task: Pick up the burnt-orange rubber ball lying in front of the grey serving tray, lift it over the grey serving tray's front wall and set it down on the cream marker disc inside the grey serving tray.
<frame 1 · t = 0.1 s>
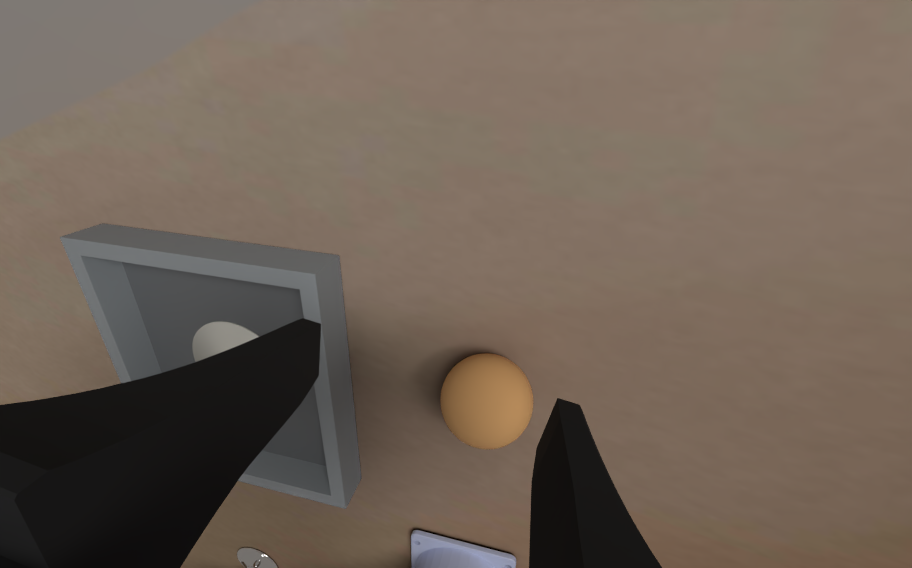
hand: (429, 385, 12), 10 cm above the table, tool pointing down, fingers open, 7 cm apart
grey serving tray: (243, 362, 28), on the table
ball: (486, 399, 22), point 2 cm above the table
wineglass: (259, 559, 41), on the table
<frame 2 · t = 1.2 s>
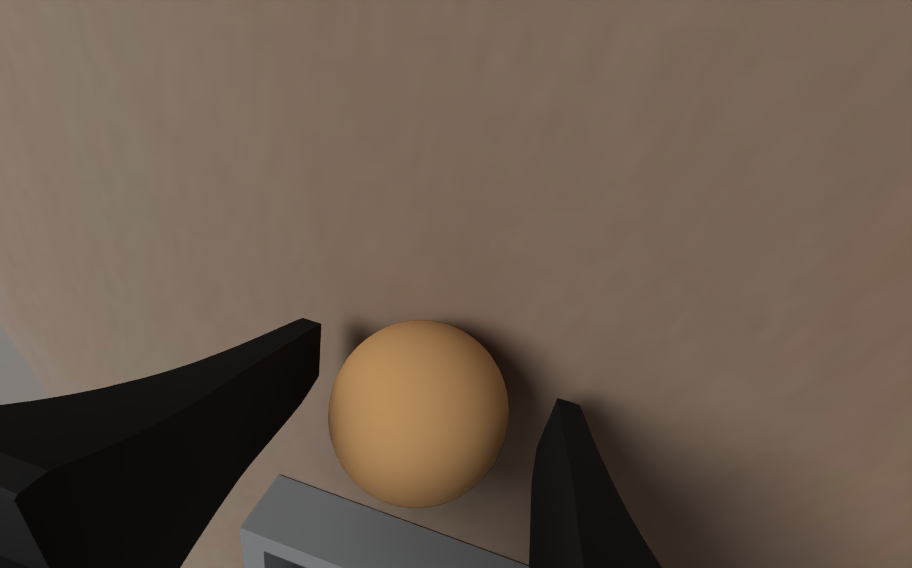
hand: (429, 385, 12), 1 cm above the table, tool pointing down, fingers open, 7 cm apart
ball: (420, 408, 11), point 2 cm above the table
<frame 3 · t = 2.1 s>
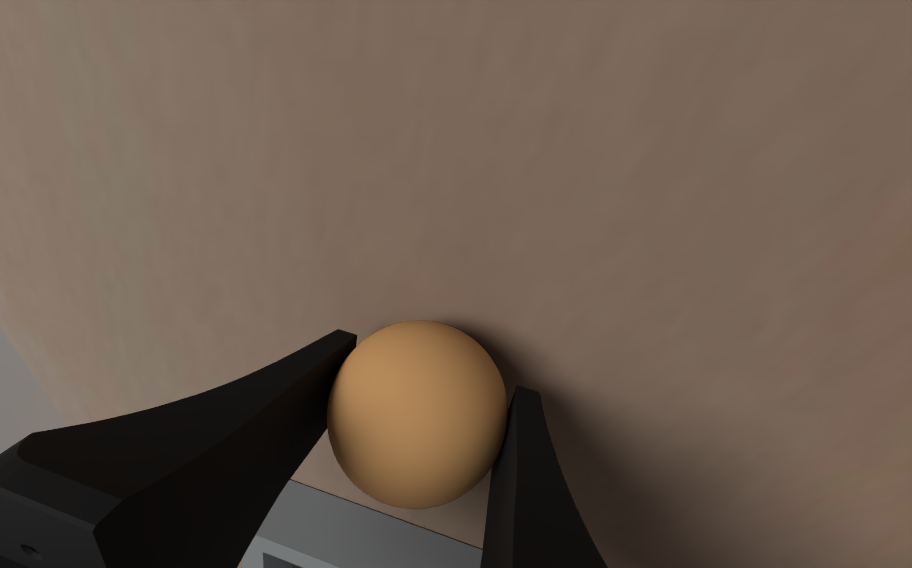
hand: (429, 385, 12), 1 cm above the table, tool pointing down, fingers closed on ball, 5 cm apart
ball: (419, 408, 11), point 2 cm above the table, touching gripper
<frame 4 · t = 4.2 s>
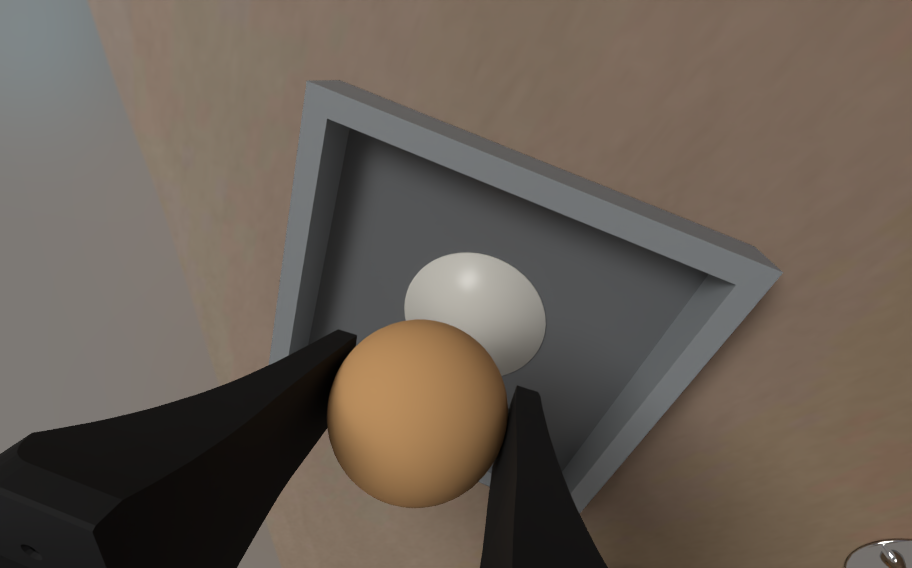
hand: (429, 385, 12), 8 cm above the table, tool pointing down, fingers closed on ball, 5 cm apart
grey serving tray: (474, 314, 21), on the table
ball: (419, 407, 11), point 9 cm above the table, touching gripper
wineglass: (895, 563, 22), on the table
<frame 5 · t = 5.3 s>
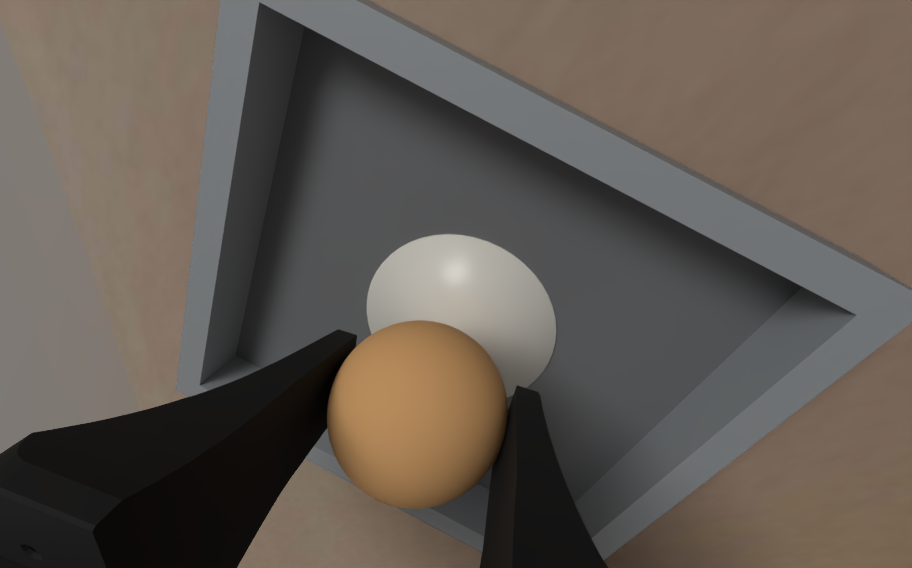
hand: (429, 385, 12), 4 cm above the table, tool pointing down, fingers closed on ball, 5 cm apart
grey serving tray: (459, 319, 15), on the table
ball: (419, 408, 11), point 5 cm above the table, touching gripper
when the fingers open (3 cm above the table, at t = 6.3 s): ball drops 1 cm, resting on grey serving tray.
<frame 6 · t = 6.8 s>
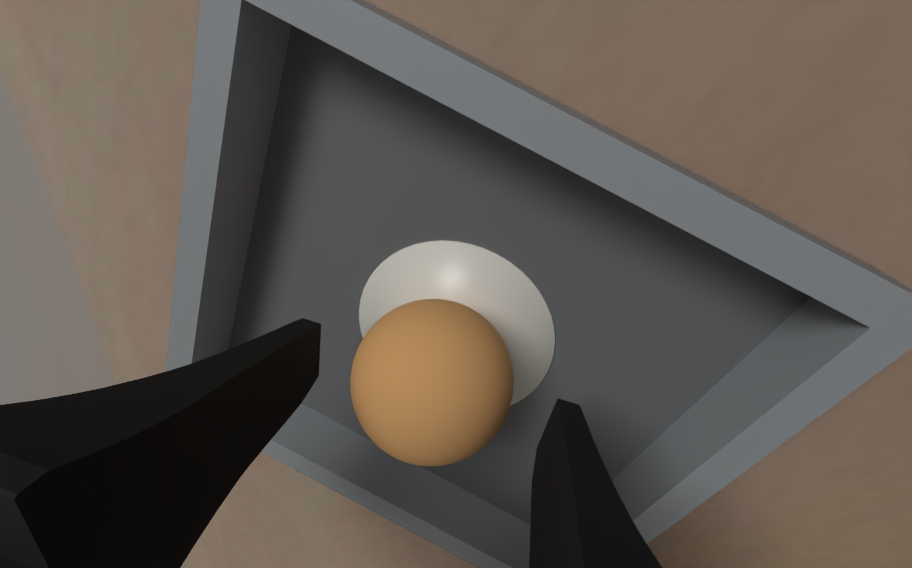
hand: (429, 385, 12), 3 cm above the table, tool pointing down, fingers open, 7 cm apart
grey serving tray: (455, 328, 15), on the table
ball: (432, 378, 12), point 3 cm above the table, touching grey serving tray
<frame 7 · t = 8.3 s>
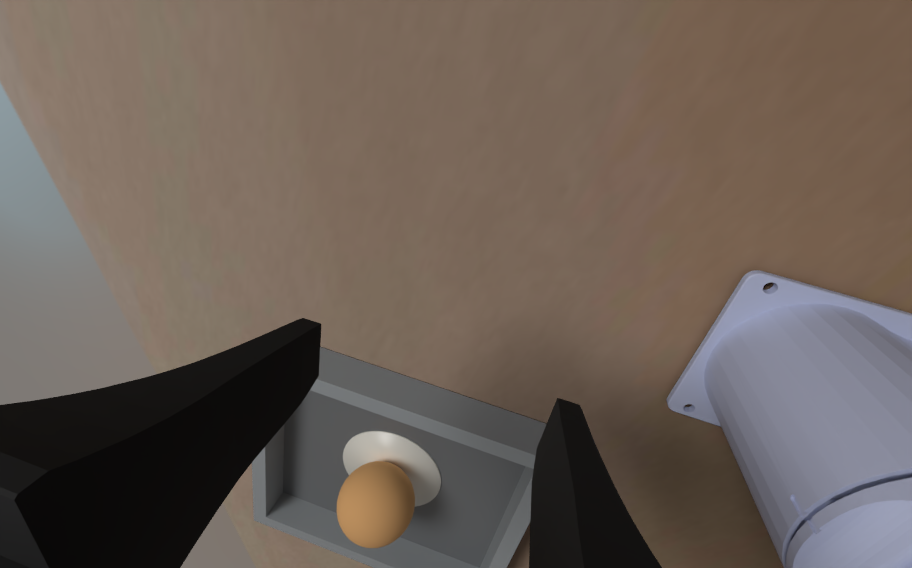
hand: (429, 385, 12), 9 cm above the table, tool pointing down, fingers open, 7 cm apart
grey serving tray: (393, 465, 29), on the table
ball: (376, 502, 26), point 3 cm above the table, touching grey serving tray
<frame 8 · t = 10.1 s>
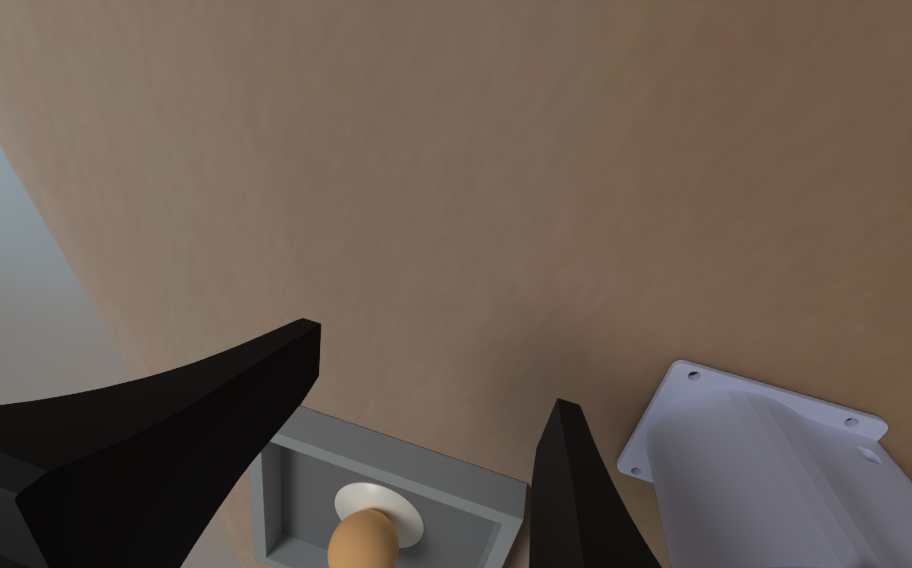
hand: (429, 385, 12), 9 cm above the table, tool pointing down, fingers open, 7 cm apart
grey serving tray: (380, 511, 31), on the table
ball: (364, 549, 29), point 3 cm above the table, touching grey serving tray
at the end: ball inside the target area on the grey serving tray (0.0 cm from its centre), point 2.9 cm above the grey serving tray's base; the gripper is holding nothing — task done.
